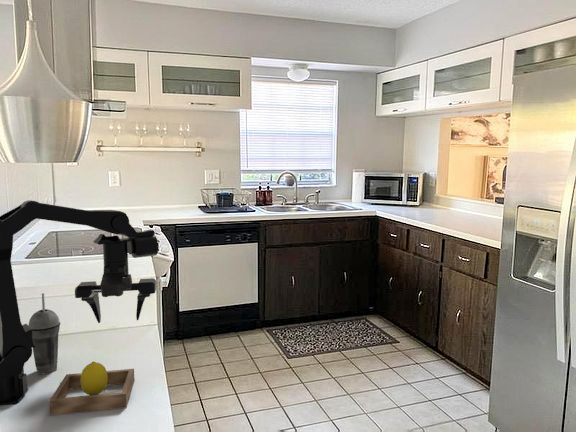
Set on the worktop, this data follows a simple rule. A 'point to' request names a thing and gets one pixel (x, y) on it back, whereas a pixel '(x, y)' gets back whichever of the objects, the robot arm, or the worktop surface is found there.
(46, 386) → the worktop surface
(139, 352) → the worktop surface
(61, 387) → the box
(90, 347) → the worktop surface
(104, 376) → the lemon
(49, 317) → the beverage cup
